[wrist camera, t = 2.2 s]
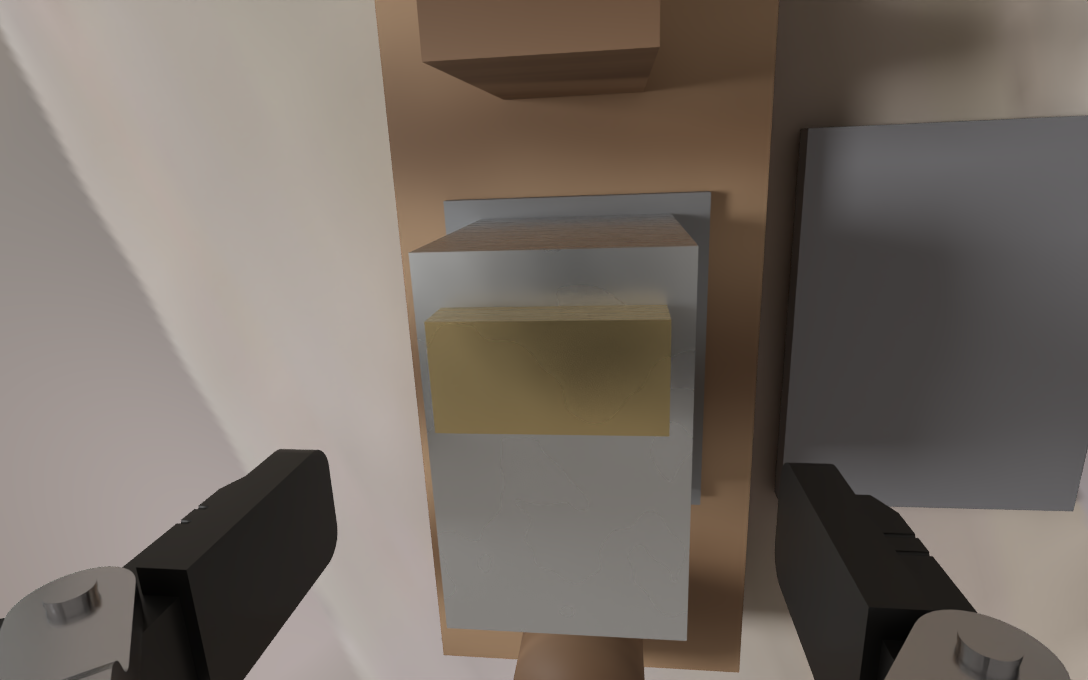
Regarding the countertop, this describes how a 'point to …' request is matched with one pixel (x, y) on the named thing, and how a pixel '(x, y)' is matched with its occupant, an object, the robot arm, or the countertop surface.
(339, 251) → the countertop surface
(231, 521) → the robot arm
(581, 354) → the grey labelled box
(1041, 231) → the rubber mat
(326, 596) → the countertop surface
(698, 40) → the plane body
